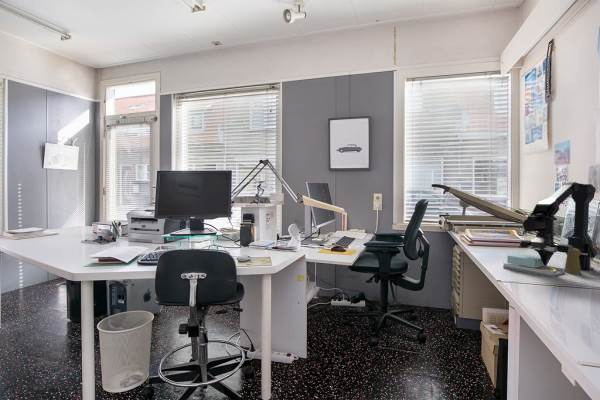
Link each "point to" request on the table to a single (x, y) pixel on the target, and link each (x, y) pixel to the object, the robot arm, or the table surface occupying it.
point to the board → (537, 269)
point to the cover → (525, 260)
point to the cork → (573, 262)
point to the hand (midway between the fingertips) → (545, 265)
